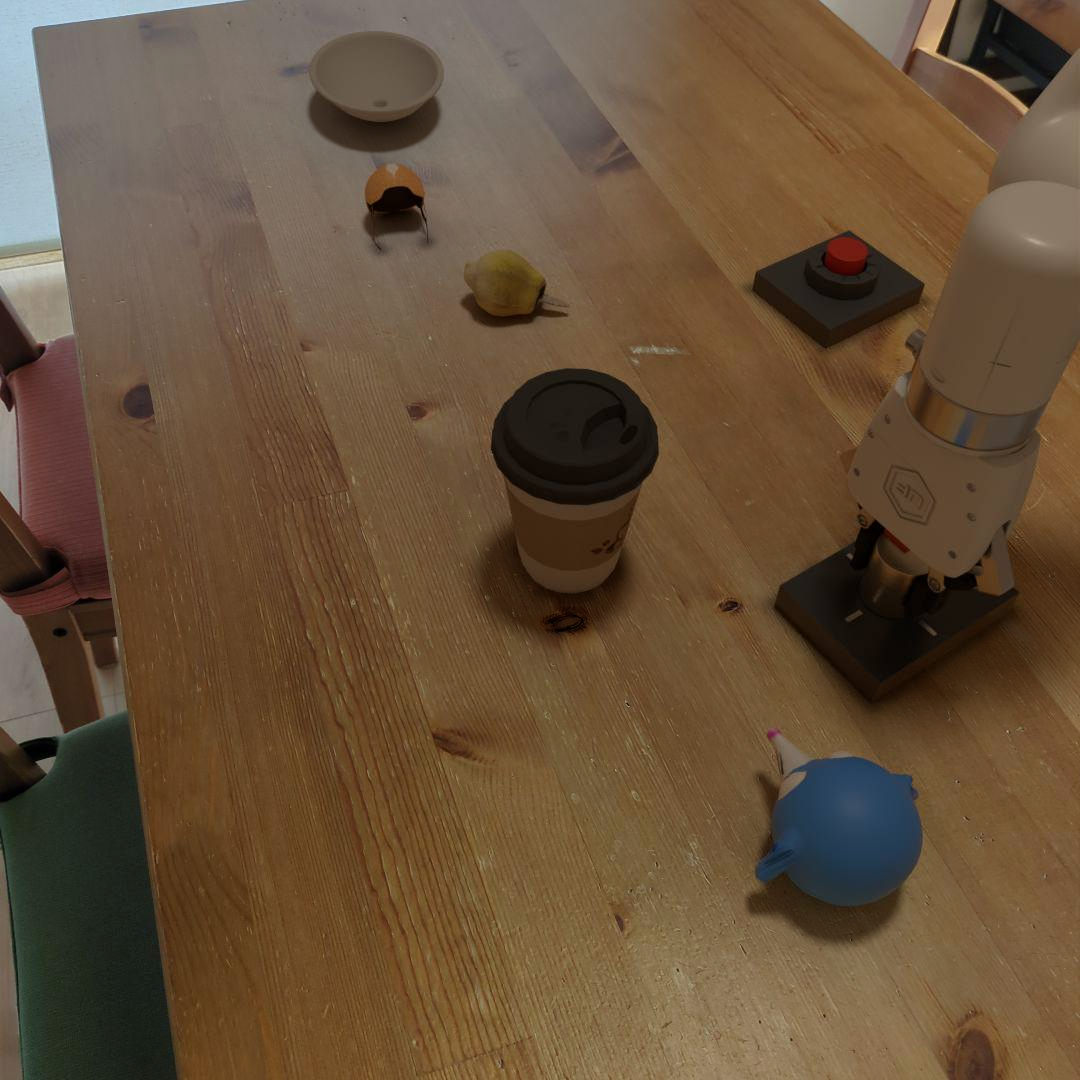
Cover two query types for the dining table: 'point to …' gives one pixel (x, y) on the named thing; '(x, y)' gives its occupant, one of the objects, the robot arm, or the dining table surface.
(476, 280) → the fruit
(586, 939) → the dining table surface
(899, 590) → the dial knob
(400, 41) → the dish
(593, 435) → the coffee cup
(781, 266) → the button box
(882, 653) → the dial panel
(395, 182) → the helmet
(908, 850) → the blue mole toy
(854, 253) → the button
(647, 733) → the dining table surface
